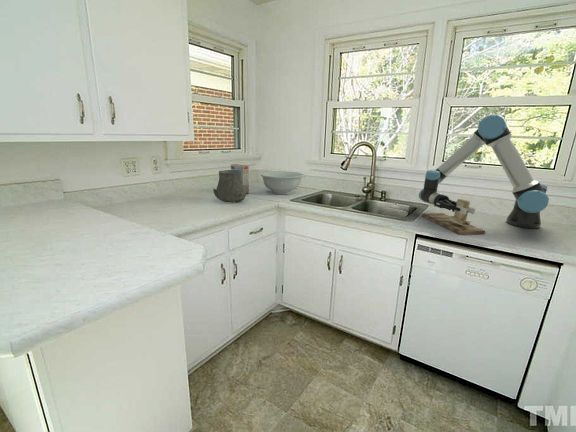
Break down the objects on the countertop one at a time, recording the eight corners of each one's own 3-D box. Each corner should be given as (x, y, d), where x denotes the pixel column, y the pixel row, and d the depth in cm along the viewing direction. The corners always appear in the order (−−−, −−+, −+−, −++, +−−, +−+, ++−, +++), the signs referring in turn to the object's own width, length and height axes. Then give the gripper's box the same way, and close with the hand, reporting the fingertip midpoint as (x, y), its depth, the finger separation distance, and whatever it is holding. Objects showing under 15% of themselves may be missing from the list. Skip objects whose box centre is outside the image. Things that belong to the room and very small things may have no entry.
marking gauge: (457, 219, 156) (461, 198, 153) (472, 226, 146) (478, 203, 142) (449, 219, 155) (453, 198, 152) (464, 226, 145) (469, 203, 142)
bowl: (260, 188, 238) (260, 170, 234) (299, 188, 242) (300, 171, 237) (261, 197, 207) (261, 176, 203) (305, 197, 211) (306, 177, 207)
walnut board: (420, 215, 173) (421, 213, 172) (442, 215, 175) (442, 212, 174) (459, 234, 142) (460, 231, 142) (484, 233, 145) (485, 230, 144)
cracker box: (249, 193, 216) (249, 165, 210) (242, 194, 212) (242, 166, 206) (237, 190, 225) (236, 163, 219) (230, 191, 221) (230, 164, 215)
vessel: (225, 207, 178) (224, 174, 172) (209, 200, 193) (207, 170, 188) (254, 202, 191) (254, 172, 186) (237, 196, 207) (236, 168, 202)
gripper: (451, 206, 169) (483, 218, 147) (424, 206, 166) (453, 219, 144) (453, 194, 167) (486, 204, 145) (426, 194, 164) (456, 204, 142)
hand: (469, 211), depth 144 cm, fingers closed on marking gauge, 4 cm apart
